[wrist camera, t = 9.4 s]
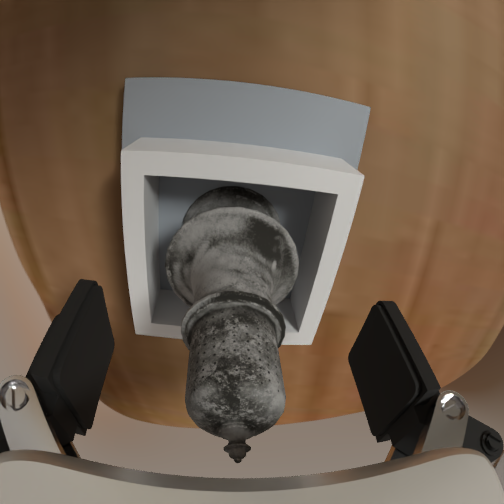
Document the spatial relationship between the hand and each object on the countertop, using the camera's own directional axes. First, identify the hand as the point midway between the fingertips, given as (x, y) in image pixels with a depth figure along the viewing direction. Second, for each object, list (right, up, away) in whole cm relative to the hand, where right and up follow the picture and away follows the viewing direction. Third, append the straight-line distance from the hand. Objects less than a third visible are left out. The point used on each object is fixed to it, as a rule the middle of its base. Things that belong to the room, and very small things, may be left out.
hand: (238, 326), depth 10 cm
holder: (-1, +4, +7) cm, 8 cm away
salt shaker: (-1, +4, +7) cm, 8 cm away
